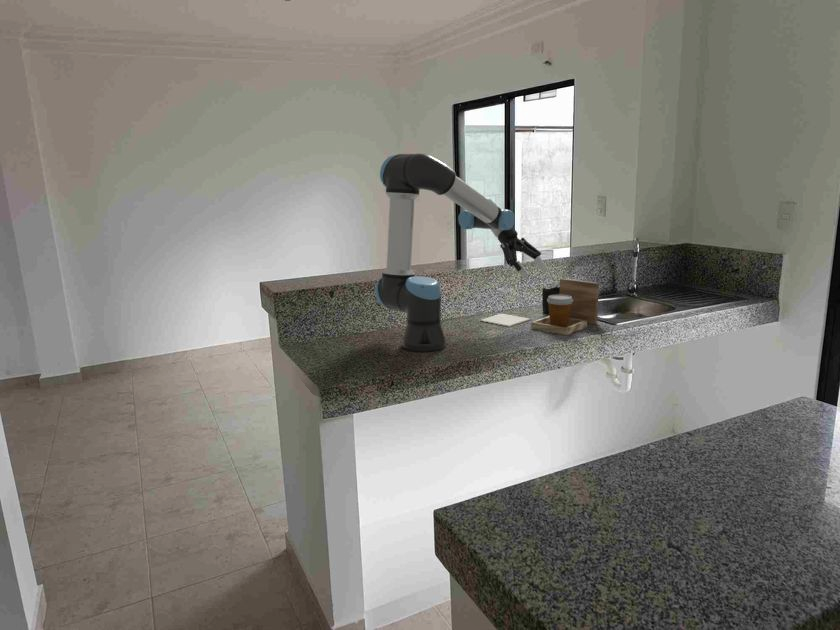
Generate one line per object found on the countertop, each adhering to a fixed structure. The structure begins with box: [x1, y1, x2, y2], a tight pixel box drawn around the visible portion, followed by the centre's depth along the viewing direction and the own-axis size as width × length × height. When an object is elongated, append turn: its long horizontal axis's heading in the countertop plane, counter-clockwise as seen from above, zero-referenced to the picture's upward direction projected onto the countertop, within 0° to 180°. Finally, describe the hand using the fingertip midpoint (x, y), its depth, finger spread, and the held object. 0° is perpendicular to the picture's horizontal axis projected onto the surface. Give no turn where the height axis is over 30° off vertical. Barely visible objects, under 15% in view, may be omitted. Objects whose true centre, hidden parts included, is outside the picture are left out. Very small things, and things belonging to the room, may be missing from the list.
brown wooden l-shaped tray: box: [530, 278, 600, 336], centre depth 230 cm, size 22×16×16 cm
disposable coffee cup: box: [547, 295, 573, 328], centre depth 228 cm, size 10×10×12 cm
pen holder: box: [541, 286, 560, 315], centre depth 253 cm, size 9×9×10 cm
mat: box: [480, 313, 531, 328], centre depth 242 cm, size 14×14×1 cm
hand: (536, 273), depth 233 cm, fingers open, 13 cm apart
